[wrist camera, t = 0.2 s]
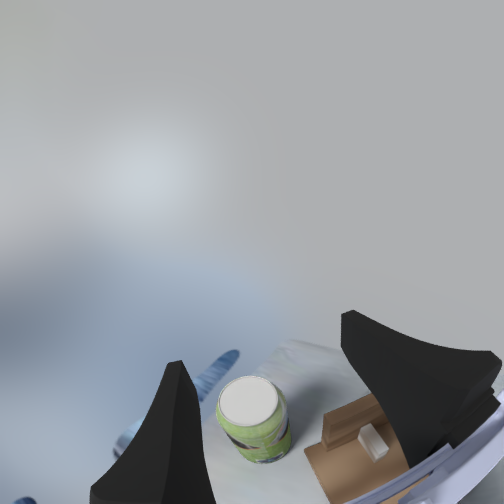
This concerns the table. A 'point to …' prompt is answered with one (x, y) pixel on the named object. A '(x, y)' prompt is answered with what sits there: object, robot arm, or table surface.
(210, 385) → the table surface
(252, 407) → the beverage can
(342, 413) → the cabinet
